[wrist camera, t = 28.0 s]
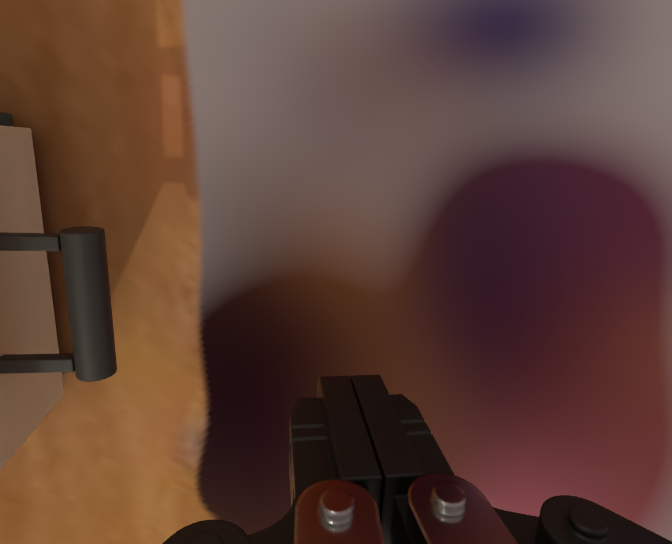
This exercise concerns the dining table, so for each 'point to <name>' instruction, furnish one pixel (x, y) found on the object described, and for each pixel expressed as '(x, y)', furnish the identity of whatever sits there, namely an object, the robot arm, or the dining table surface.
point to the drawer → (44, 300)
